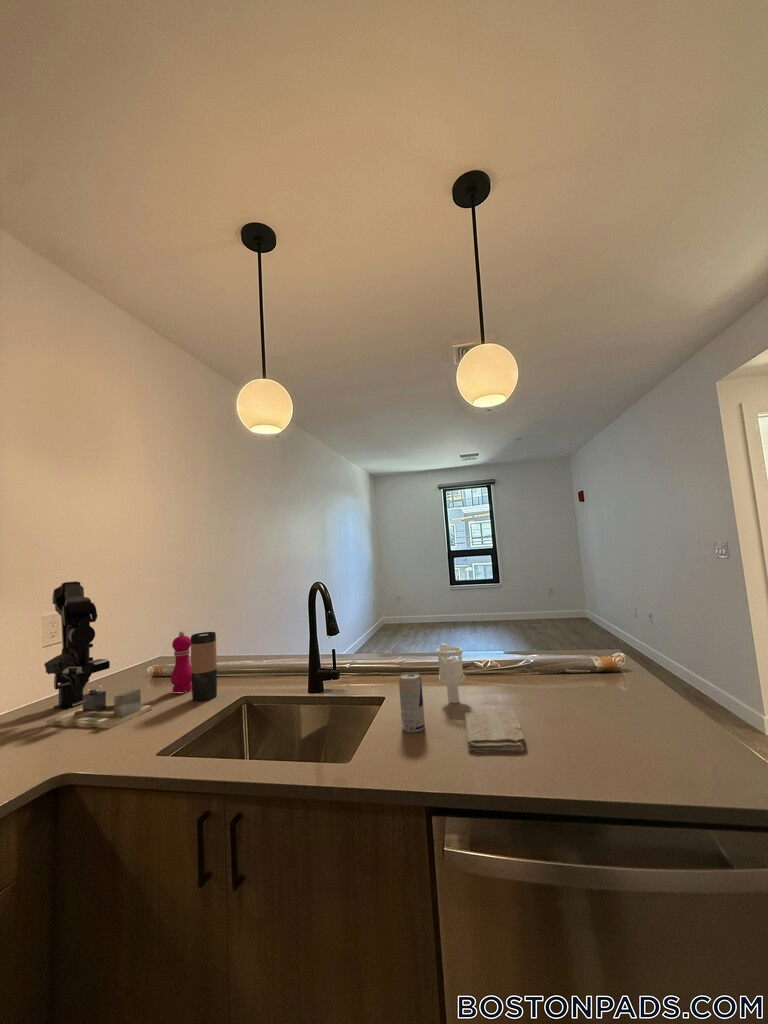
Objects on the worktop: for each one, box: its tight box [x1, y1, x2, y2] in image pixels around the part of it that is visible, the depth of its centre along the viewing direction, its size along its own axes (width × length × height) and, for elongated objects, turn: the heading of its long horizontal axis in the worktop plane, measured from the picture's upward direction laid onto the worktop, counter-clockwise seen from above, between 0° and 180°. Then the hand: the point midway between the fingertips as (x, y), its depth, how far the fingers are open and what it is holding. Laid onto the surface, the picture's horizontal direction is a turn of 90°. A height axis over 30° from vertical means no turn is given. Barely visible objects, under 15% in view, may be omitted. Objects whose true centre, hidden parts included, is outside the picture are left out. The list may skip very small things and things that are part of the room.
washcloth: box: [463, 710, 525, 753], centre depth 93 cm, size 12×18×3 cm, turn 172°
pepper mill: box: [170, 630, 192, 693], centre depth 145 cm, size 7×7×20 cm
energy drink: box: [398, 672, 426, 734], centre depth 100 cm, size 5×5×12 cm
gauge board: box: [46, 688, 153, 729], centre depth 123 cm, size 23×14×7 cm, turn 73°
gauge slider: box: [73, 688, 107, 712], centre depth 122 cm, size 4×8×6 cm, turn 163°
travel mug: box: [190, 631, 218, 703], centre depth 135 cm, size 8×8×20 cm
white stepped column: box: [436, 643, 466, 704], centre depth 116 cm, size 7×7×15 cm
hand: (77, 695), depth 126 cm, fingers closed
